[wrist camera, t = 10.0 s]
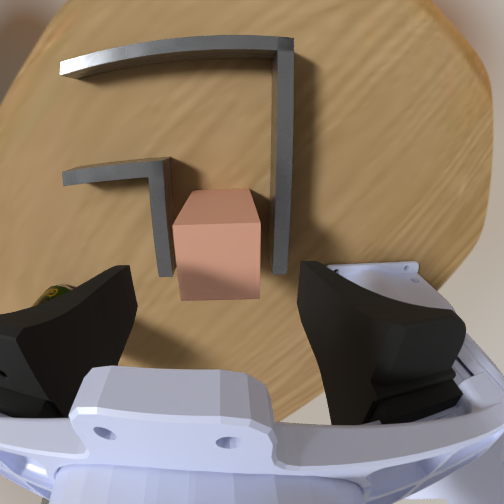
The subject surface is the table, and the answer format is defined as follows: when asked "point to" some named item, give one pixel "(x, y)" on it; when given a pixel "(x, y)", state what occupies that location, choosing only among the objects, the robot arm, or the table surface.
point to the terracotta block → (218, 246)
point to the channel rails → (161, 167)
